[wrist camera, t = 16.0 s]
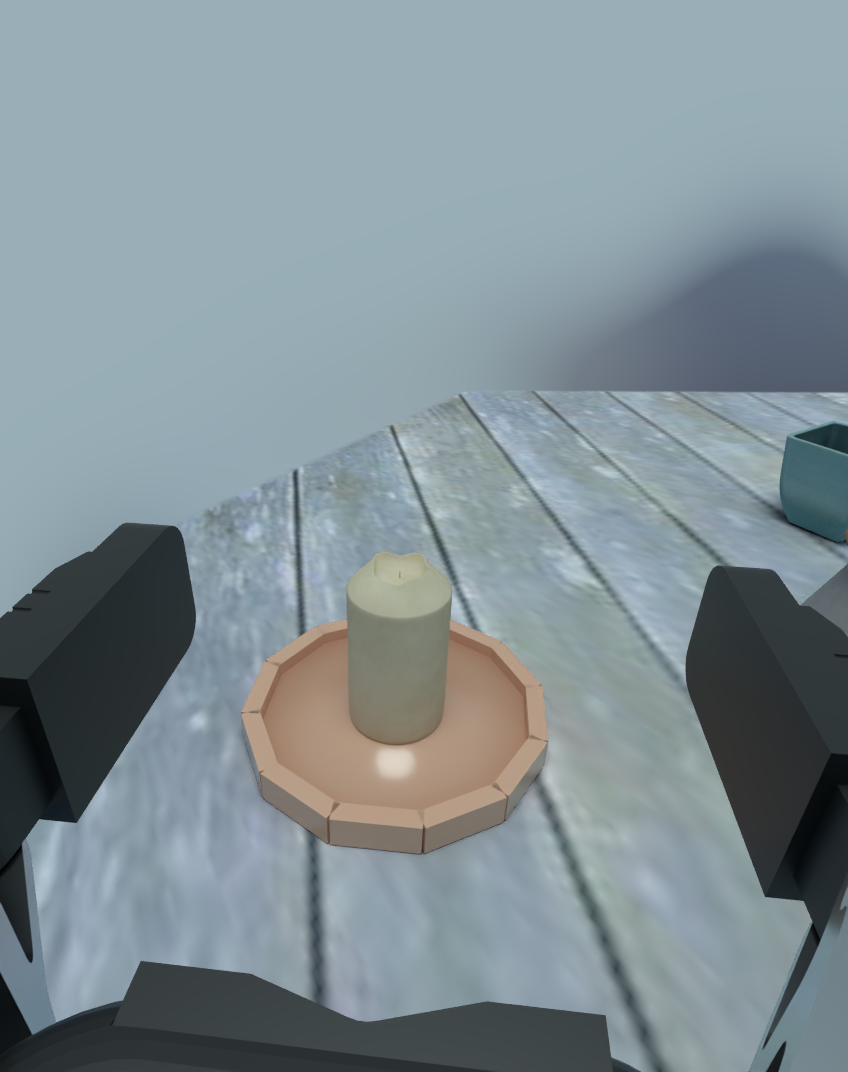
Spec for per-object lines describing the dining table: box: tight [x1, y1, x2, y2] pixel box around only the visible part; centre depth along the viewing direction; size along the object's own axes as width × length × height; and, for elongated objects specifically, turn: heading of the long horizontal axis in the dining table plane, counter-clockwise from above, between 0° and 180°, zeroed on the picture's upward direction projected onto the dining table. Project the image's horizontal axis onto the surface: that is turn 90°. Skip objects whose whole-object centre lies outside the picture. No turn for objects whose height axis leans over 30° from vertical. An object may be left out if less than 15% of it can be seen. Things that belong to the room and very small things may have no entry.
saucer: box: [241, 619, 548, 854], centre depth 39 cm, size 17×17×2 cm
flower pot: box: [780, 421, 848, 542], centre depth 62 cm, size 9×9×9 cm
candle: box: [347, 552, 452, 744], centre depth 36 cm, size 6×6×10 cm
